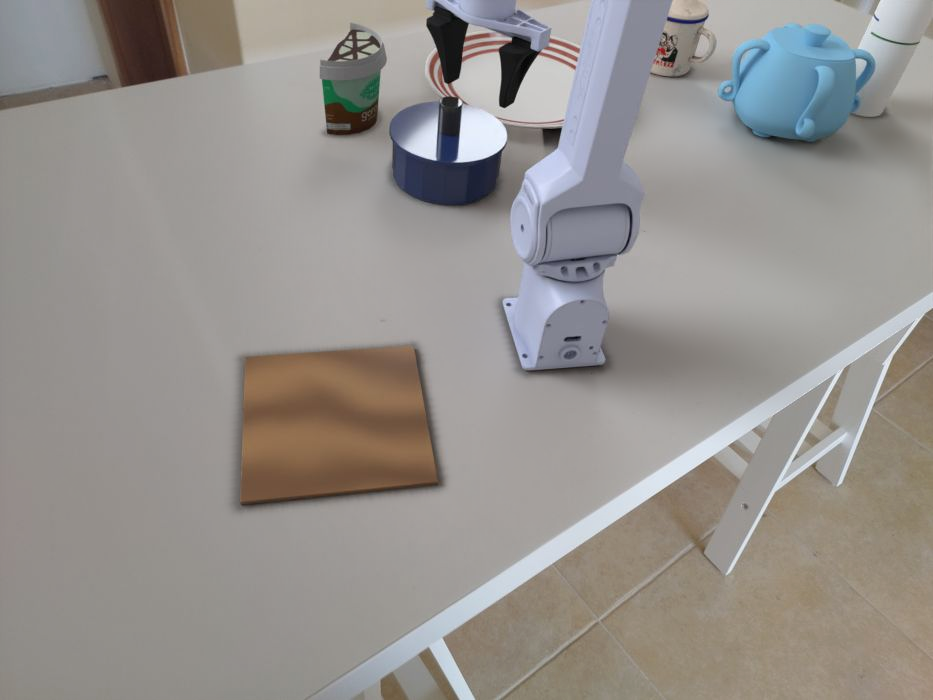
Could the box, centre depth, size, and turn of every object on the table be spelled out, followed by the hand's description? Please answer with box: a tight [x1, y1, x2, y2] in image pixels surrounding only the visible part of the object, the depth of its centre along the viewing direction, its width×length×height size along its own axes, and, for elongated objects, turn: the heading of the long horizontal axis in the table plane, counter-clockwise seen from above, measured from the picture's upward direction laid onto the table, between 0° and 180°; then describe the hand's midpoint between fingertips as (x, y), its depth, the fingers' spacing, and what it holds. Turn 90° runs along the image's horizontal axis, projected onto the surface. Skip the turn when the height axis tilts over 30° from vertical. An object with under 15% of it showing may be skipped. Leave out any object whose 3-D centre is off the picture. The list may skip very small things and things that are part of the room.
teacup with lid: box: [650, 0, 717, 77], centre depth 111 cm, size 12×9×12 cm
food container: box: [319, 21, 388, 136], centre depth 92 cm, size 12×6×10 cm, turn 168°
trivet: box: [239, 345, 439, 505], centre depth 62 cm, size 15×15×1 cm
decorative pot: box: [717, 22, 876, 142], centre depth 100 cm, size 16×16×14 cm
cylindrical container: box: [851, 0, 933, 118], centre depth 103 cm, size 7×7×25 cm
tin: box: [391, 142, 503, 206], centre depth 87 cm, size 13×13×5 cm
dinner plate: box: [424, 29, 581, 130], centre depth 103 cm, size 28×27×3 cm
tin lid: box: [388, 96, 509, 166], centre depth 84 cm, size 14×14×5 cm
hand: (478, 92), depth 82 cm, fingers open, 7 cm apart
